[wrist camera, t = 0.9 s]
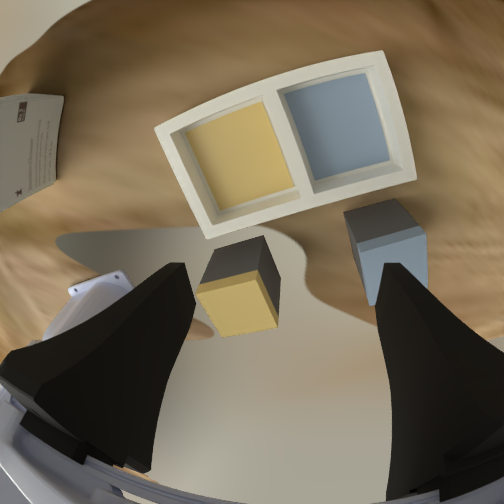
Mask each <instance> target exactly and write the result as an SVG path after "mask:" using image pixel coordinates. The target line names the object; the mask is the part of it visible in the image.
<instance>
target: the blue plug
mask: <svg viewBox="0 0 504 504" xmlns="http://www.w3.org/2000/svg"><path fill="white" fill-rule="evenodd" d="M343 213H344V217H345V221H346V225H347V229H348V233H349V237H350V242H351V246H352V251H353V255H354V260H355V262H356V265H357V268H358V271H359V274H360V277H361V280H362V283H363V286H364V289H365V292H366V296H367V299H368V302H369V305H370V306H372V305H375V304H376V300H377V295H378V291H379V286H380V281H381V276H382V271H383V266H384V263H401V264H402V265H403V266H404V267H405V268H406V269H407V270H409V271H410V272H411V273H412V274H413V275H414V276H415V277H416V278H417V279H418V280H419V281H420V282H421V283H422V284H423V285H424V286H425V287H426V288H427V289H428V263H427V238H426V233H425V231H424V230H423V229H422V228H421V227H420V226H419V224H418V223H417V222H416V221H415V220H414V219H413V218H412V216H411V215H410V214H409V213H408V212H407V211H406V210H405V209H404V207H403V206H402V205H401V204H400V203H399V202H398V201H397V200H396V199H395V198H394V199H391V200H387V201H383V202H380V203H376V204H372V205H369V206H365V207H361V208H358V209H354V210H351V211H347V212H343Z"/></svg>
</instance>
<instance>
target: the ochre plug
mask: <svg viewBox="0 0 504 504" xmlns="http://www.w3.org/2000/svg"><path fill="white" fill-rule="evenodd" d="M280 281H281V277H280V275H279V272H278V270H277V267H276V265H275V262H274V260H273V258H272V255H271V252H270V250H269V247H268V245H267V243H266V240H265V237H264V235H262V236H259V237H255V238H252V239H248V240H245V241H242V242H238V243H235V244H231V245H228V246H224V247H221V248H218V249H215V250H214V253H213V254H212V257H211V259H210V261H209V264H208V266H207V268H206V270H205V273H204V275H203V277H202V280H201V282H200V284H199V287H198V289H197V291H196V294H195V295H196V296H197V298H198V300H199V301H200V303H201V305H202V306H203V308H204V309H205V311H206V312H207V314H208V316H209V317H210V319H211V321H212V322H213V324H214V325H215V327H216V328H217V330H218V332H219V333H220V335H221V336H222V337H228V336H234V335H240V334H246V333H252V332H257V331H263V330H268V329H273V328H277V327H278V317H279V300H280Z"/></svg>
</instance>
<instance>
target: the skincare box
mask: <svg viewBox="0 0 504 504" xmlns="http://www.w3.org/2000/svg"><path fill="white" fill-rule="evenodd" d="M63 103H64V97H63V96H58V95H46V94H31V93H26V94H19V95H12V96H6V97H1V98H0V212H2V211H4V210H5V209H7V208H9V207H11V206H12V205H14V204H16V203H18V202H20V201H21V200H23V199H25V198H27V197H29V196H31V195H33V194H35V193H37V192H39V191H40V190H42V189H44V188H46V187H48V186H50V185H52V184H53V183H54V182H55V181H56V150H57V138H58V130H59V123H60V118H61V112H62V108H63Z"/></svg>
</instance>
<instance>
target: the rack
mask: <svg viewBox="0 0 504 504" xmlns="http://www.w3.org/2000/svg"><path fill="white" fill-rule="evenodd" d="M154 130H155V133H156V135H157V137H158V139H159V141H160V144H161V146H162V148H163V150H164V152H165V154H166V157H167V159H168V161H169V163H170V165H171V167H172V169H173V172H174V174H175V176H176V178H177V180H178V182H179V184H180V186H181V188H182V191H183V193H184V195H185V197H186V199H187V201H188V203H189V205H190V207H191V209H192V211H193V213H194V215H195V217H196V219H197V221H198V223H199V225H200V227H201V229H202V231H203V233H204V236H205V237H206V239H207V240H208V239H211V238H214V237H218V236H221V235H224V234H227V233H230V232H234V231H237V230H240V229H243V228H247V227H250V226H253V225H257V224H260V223H263V222H267V221H270V220H273V219H277V218H280V217H283V216H287V215H290V214H294V213H297V212H301V211H304V210H307V209H311V208H314V207H318V206H321V205H325V204H328V203H332V202H336V201H339V200H343V199H346V198H350V197H353V196H357V195H361V194H364V193H368V192H372V191H375V190H379V189H383V188H387V187H390V186H394V185H398V184H402V183H406V182H409V181H413V180H417V175H416V169H415V163H414V158H413V153H412V148H411V143H410V138H409V134H408V130H407V126H406V122H405V118H404V114H403V110H402V106H401V103H400V99H399V96H398V93H397V89H396V86H395V83H394V80H393V77H392V74H391V71H390V68H389V65H388V63H387V60H386V57H385V55H384V52H383V50H381V51H375V52H369V53H363V54H357V55H352V56H347V57H343V58H338V59H333V60H329V61H325V62H321V63H317V64H313V65H309V66H306V67H302V68H299V69H295V70H292V71H288V72H285V73H282V74H279V75H276V76H273V77H270V78H267V79H264V80H261V81H258V82H255V83H252V84H250V85H247V86H244V87H242V88H239V89H237V90H234V91H231V92H229V93H226V94H224V95H222V96H219V97H217V98H215V99H212V100H210V101H208V102H205V103H203V104H201V105H199V106H197V107H194V108H192V109H190V110H188V111H186V112H184V113H182V114H180V115H178V116H176V117H174V118H172V119H170V120H168V121H166V122H164V123H162V124H160V125H158V126H156V127H155V128H154Z"/></svg>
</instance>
